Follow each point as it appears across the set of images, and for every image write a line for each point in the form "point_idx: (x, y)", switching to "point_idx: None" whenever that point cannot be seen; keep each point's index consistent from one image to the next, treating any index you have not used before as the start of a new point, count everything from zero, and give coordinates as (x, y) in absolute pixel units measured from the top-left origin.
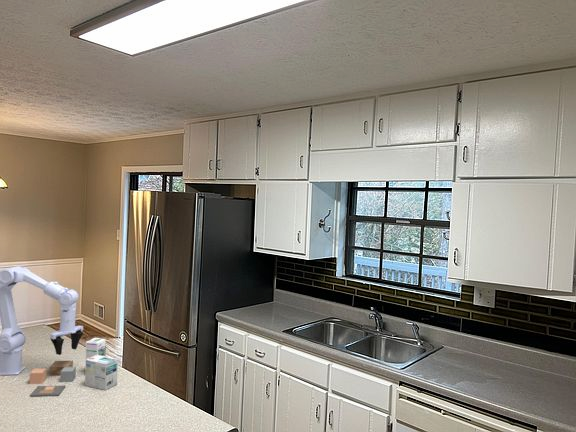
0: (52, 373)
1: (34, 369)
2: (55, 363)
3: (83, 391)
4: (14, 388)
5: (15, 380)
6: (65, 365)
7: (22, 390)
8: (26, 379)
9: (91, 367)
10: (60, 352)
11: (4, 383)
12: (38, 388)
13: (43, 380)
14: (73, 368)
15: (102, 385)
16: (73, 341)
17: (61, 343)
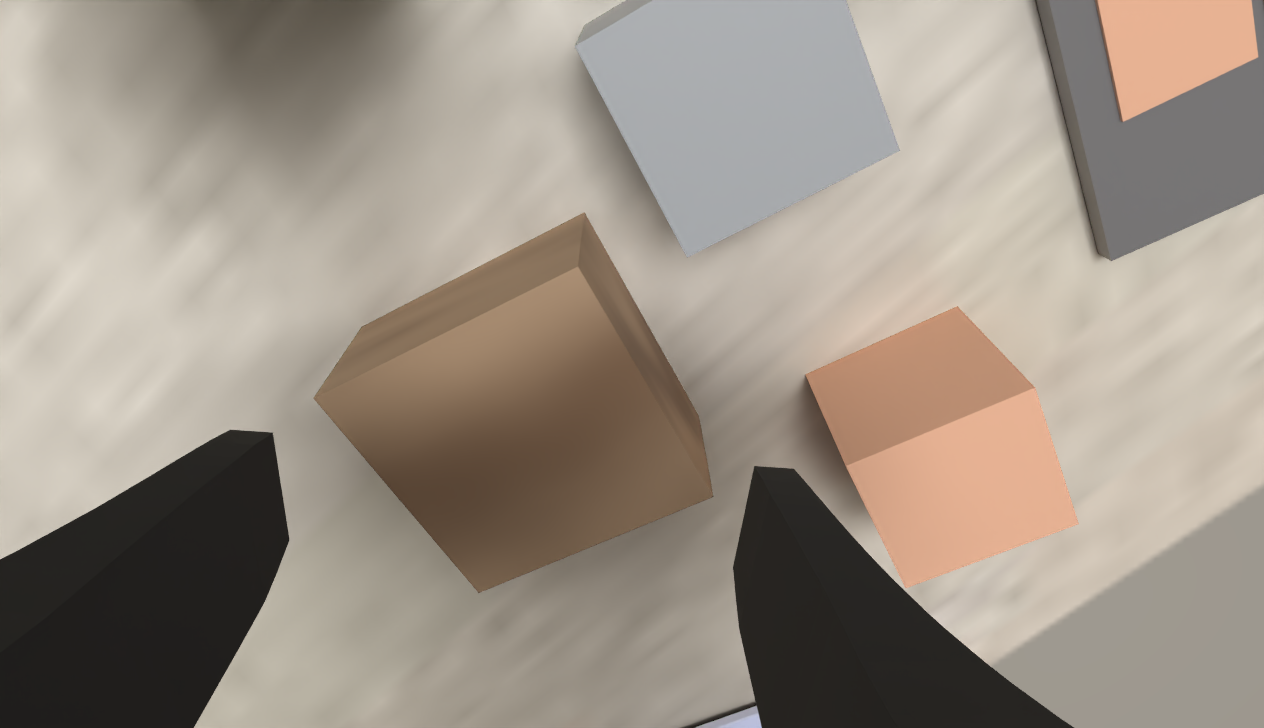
0: (684, 403)
1: (933, 567)
2: (560, 525)
3: None
4: (1153, 470)
5: (939, 609)
6: (549, 341)
7: (1205, 353)
8: (883, 545)
9: None
10: (808, 497)
11: (1036, 634)
12: (1194, 186)
13: (909, 341)
14: (667, 28)
15: None
16: (159, 688)
17: (978, 723)
